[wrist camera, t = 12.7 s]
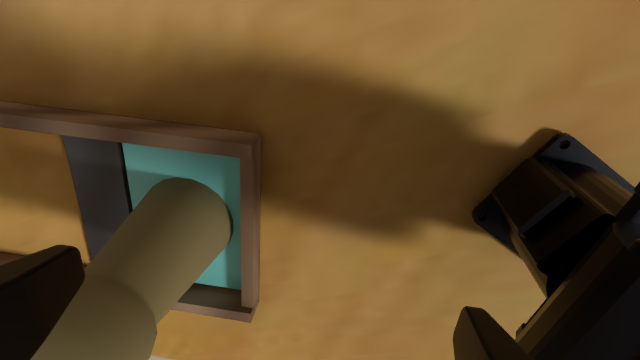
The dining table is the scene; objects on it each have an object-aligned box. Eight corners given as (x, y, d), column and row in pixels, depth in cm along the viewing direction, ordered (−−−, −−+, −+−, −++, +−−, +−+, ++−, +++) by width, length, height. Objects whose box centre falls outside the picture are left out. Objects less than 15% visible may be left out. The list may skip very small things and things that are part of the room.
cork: (249, 209, 22) (156, 367, 13) (212, 271, 25) (109, 443, 15) (161, 159, 22) (-12, 285, 12) (131, 228, 24) (-31, 379, 14)
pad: (244, 150, 21) (242, 153, 21) (245, 286, 26) (243, 290, 25) (125, 135, 22) (121, 137, 21) (146, 271, 26) (143, 274, 26)
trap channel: (261, 133, 21) (251, 145, 19) (258, 301, 26) (250, 322, 24) (-154, 81, 23) (-199, 88, 21) (-74, 248, 28) (-104, 264, 26)
